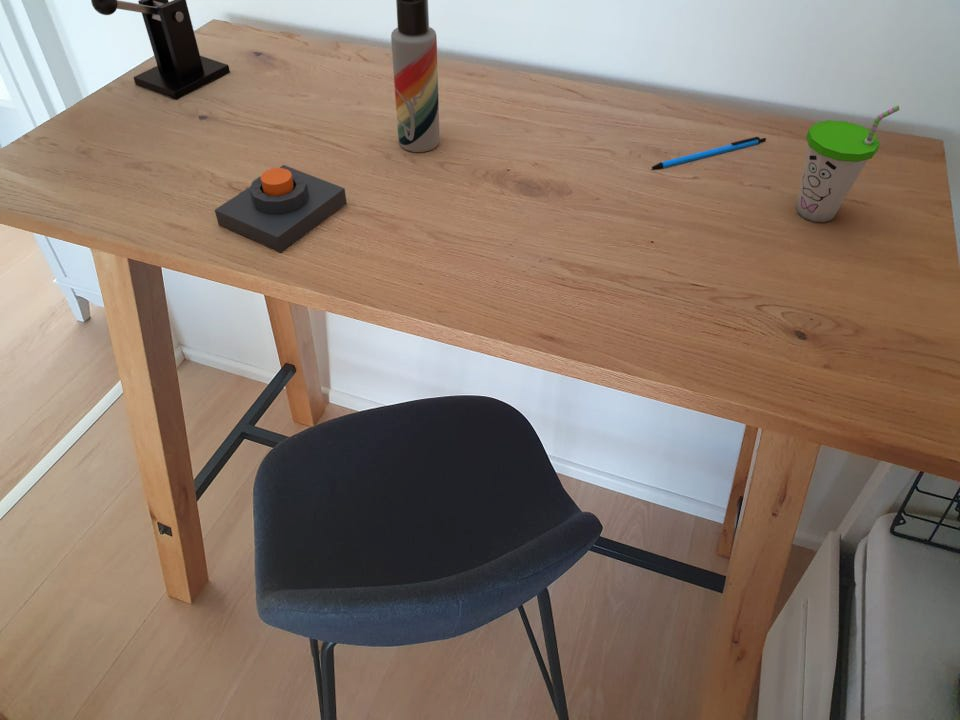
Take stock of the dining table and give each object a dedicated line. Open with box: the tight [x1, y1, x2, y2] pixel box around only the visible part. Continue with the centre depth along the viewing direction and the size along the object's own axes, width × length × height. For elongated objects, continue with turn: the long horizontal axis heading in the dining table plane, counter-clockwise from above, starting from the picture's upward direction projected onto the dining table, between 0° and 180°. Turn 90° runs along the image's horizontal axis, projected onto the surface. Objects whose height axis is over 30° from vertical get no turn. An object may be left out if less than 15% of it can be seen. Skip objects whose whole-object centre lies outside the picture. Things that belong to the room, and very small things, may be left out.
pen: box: [650, 136, 767, 170], centre depth 104 cm, size 1×19×1 cm, turn 114°
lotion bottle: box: [390, 0, 440, 153], centre depth 99 cm, size 6×6×20 cm
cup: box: [795, 105, 900, 224], centre depth 90 cm, size 8×8×15 cm
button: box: [260, 167, 294, 196], centre depth 91 cm, size 4×4×2 cm
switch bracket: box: [133, 0, 231, 100], centre depth 115 cm, size 11×9×12 cm
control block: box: [214, 164, 348, 253], centre depth 92 cm, size 12×10×4 cm
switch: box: [90, 0, 166, 21], centre depth 108 cm, size 13×3×3 cm, turn 150°
